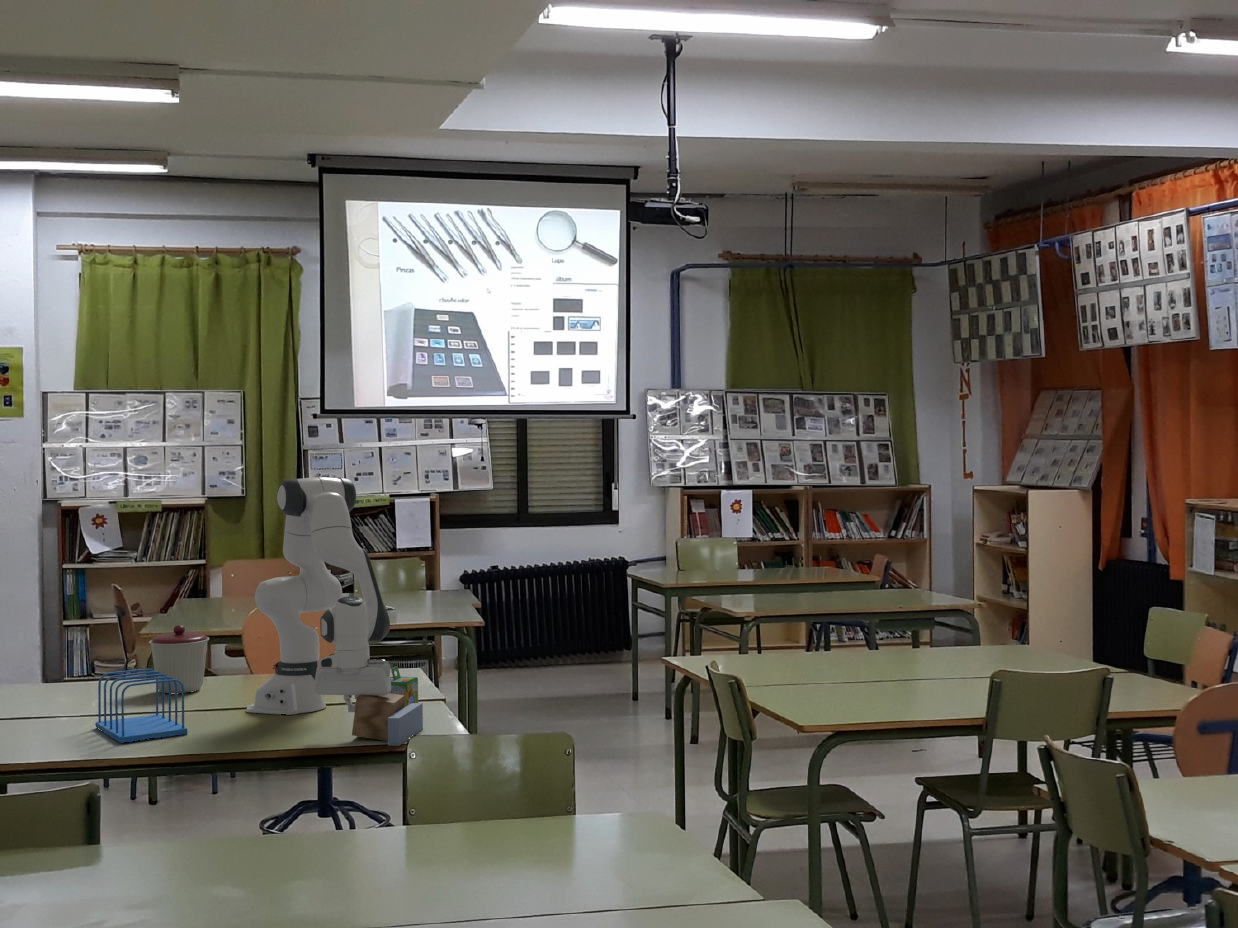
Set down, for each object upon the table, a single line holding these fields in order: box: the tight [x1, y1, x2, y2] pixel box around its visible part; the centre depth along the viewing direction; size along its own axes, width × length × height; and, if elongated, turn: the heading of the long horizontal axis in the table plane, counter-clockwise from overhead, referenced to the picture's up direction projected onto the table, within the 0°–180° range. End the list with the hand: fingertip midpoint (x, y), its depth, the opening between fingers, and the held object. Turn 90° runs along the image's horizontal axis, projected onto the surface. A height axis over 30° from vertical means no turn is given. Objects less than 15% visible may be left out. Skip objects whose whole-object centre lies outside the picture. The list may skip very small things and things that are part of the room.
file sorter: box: [94, 668, 188, 744], centre depth 337 cm, size 25×17×15 cm
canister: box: [148, 624, 210, 694], centre depth 394 cm, size 18×18×21 cm
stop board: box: [387, 702, 424, 747], centre depth 326 cm, size 3×19×7 cm, turn 171°
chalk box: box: [390, 665, 419, 708], centre depth 347 cm, size 9×9×15 cm
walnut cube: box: [351, 693, 404, 742], centre depth 327 cm, size 10×10×10 cm
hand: (353, 711), depth 327 cm, fingers closed
